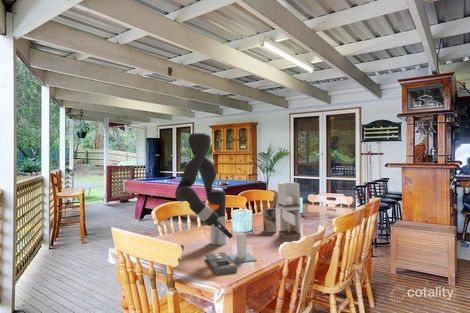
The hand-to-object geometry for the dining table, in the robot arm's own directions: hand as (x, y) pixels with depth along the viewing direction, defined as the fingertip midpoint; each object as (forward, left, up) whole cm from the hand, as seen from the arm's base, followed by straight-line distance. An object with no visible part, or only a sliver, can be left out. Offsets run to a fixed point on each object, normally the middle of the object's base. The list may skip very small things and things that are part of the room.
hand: (229, 235), depth 169 cm
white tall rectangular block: (0, +7, -12) cm, 14 cm away
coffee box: (-51, +44, -13) cm, 68 cm away
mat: (0, +7, -13) cm, 15 cm away
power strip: (+4, -6, -13) cm, 15 cm away
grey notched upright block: (-36, +52, -13) cm, 64 cm away
